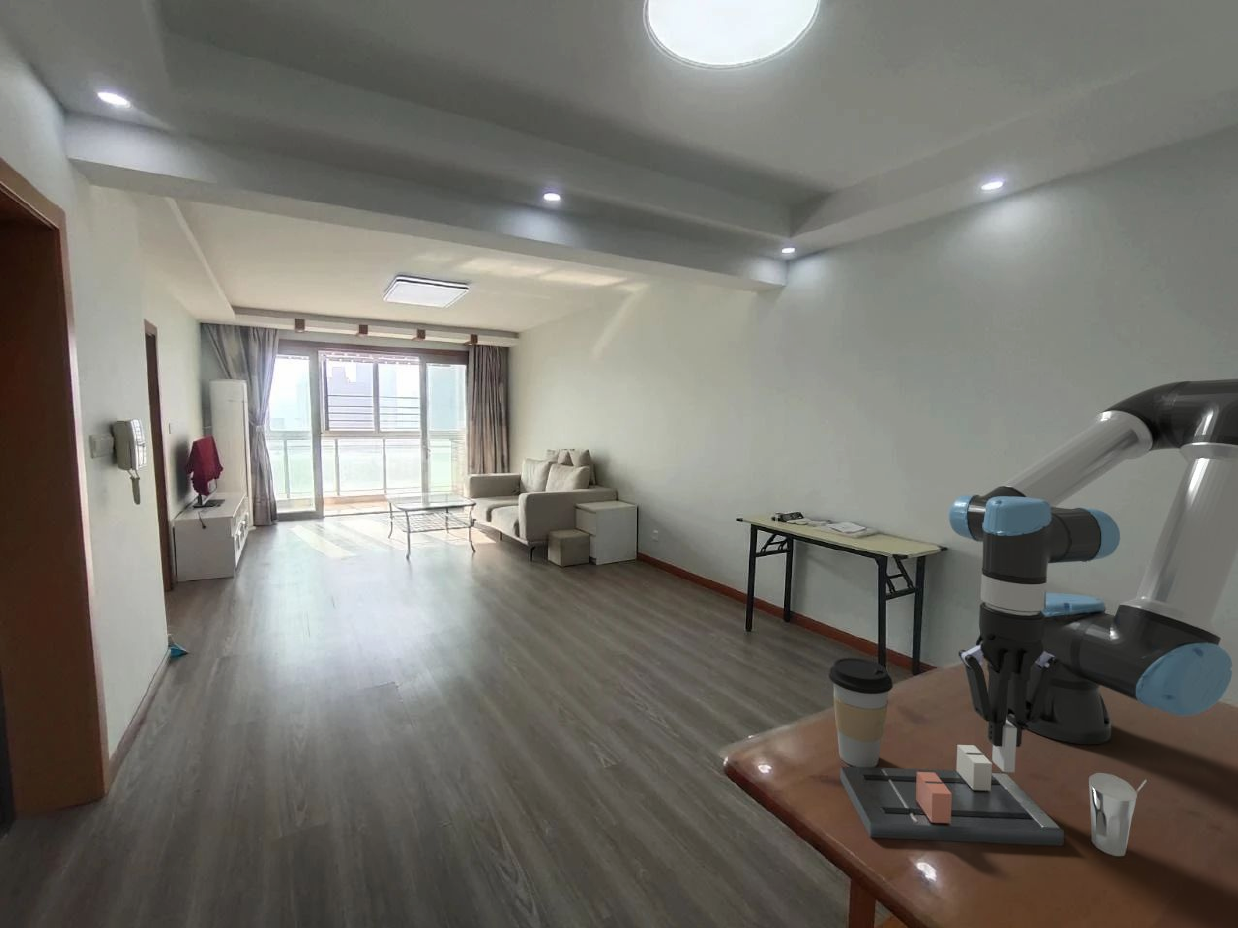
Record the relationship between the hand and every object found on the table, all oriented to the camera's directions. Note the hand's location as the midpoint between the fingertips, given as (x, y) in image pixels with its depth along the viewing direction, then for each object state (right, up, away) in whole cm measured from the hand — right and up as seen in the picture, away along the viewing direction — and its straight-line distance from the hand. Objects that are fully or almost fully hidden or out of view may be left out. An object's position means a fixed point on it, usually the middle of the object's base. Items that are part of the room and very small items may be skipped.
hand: (1003, 765), depth 80 cm
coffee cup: (-17, -4, +10) cm, 20 cm away
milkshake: (+7, -5, -10) cm, 13 cm away
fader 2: (-4, -2, +1) cm, 5 cm away
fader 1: (-14, -3, -6) cm, 15 cm away
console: (-10, -5, -2) cm, 12 cm away
